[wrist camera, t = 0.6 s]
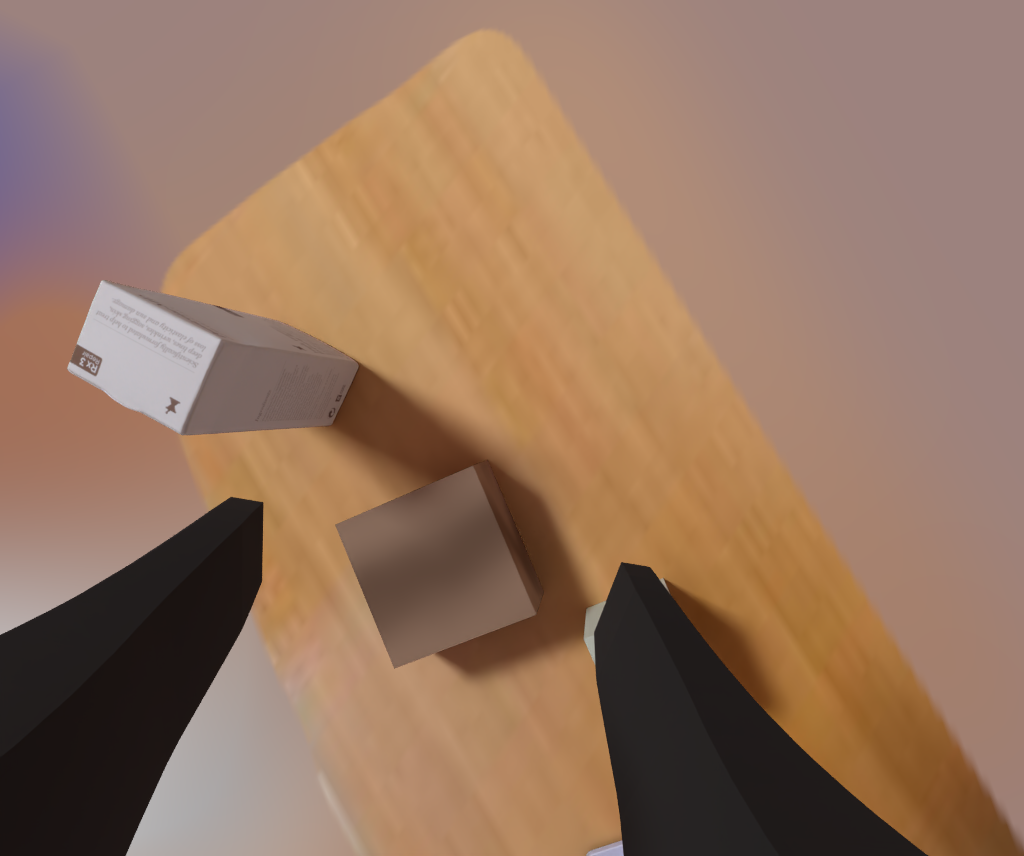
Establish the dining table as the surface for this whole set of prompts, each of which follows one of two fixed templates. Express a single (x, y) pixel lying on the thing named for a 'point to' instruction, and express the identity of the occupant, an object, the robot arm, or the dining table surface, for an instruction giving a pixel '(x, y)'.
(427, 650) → the walnut block
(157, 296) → the skincare box
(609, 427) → the dining table surface
